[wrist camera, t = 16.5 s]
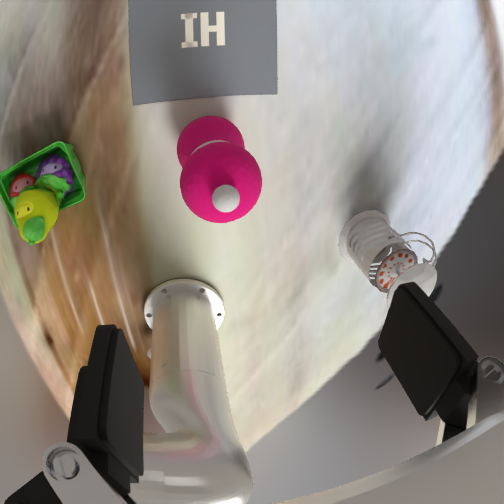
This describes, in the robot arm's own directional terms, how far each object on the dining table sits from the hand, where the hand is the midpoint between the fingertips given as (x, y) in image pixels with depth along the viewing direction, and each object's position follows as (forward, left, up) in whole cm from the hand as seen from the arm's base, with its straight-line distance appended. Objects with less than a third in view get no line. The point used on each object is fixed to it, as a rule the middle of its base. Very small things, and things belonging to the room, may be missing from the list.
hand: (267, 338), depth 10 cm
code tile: (+11, +9, -31) cm, 34 cm away
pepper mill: (0, 0, -31) cm, 31 cm away
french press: (+2, -28, -31) cm, 42 cm away
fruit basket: (-14, +16, -31) cm, 38 cm away
